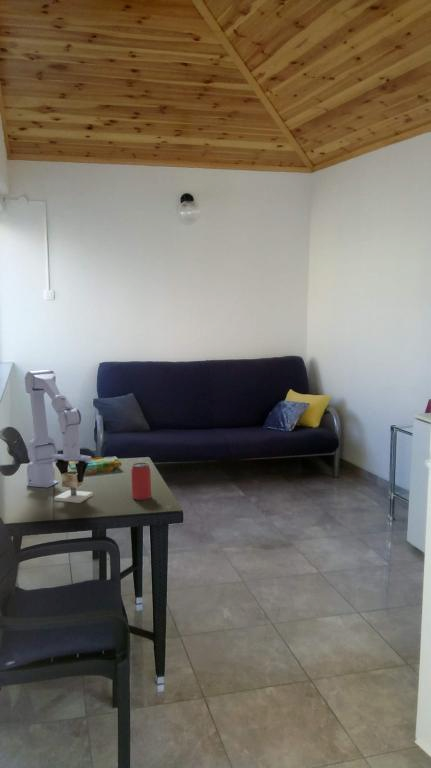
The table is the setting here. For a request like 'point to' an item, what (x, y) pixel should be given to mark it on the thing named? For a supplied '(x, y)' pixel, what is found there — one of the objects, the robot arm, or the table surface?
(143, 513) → the table surface
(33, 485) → the robot arm
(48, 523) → the table surface
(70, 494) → the pin block
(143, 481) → the beer can
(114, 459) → the puzzle game
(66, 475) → the collar
